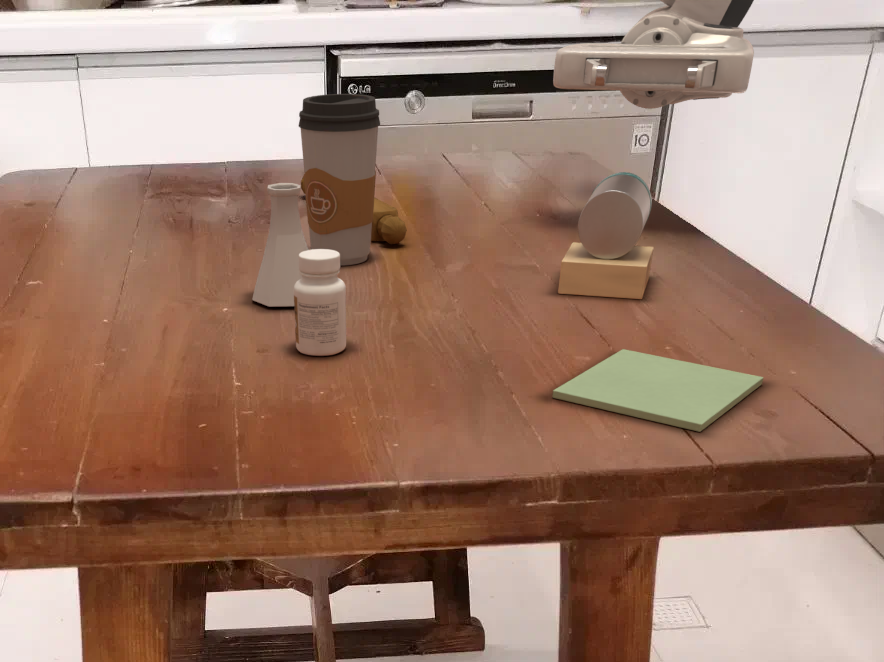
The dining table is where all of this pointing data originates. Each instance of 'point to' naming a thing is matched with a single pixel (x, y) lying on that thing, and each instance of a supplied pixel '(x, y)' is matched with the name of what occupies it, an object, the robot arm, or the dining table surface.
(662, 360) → the mat
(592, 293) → the plate
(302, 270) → the pill bottle
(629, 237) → the tumbler
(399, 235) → the tap handle
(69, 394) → the dining table surface
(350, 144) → the coffee cup
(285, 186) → the flask
